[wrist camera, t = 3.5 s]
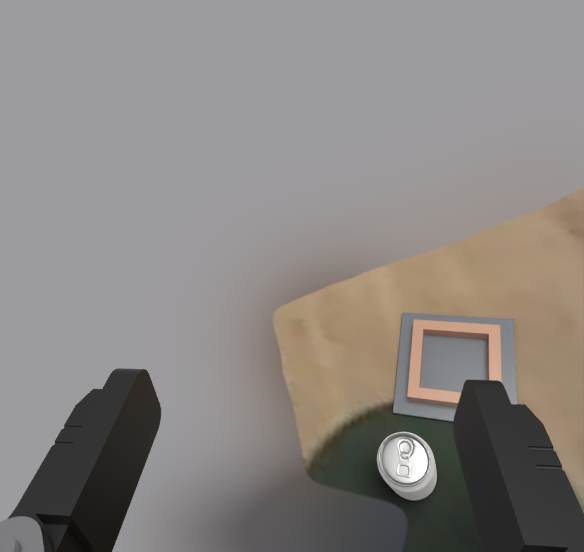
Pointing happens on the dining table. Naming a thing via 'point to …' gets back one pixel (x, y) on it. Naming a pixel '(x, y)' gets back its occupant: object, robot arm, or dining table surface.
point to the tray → (450, 361)
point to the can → (407, 465)
